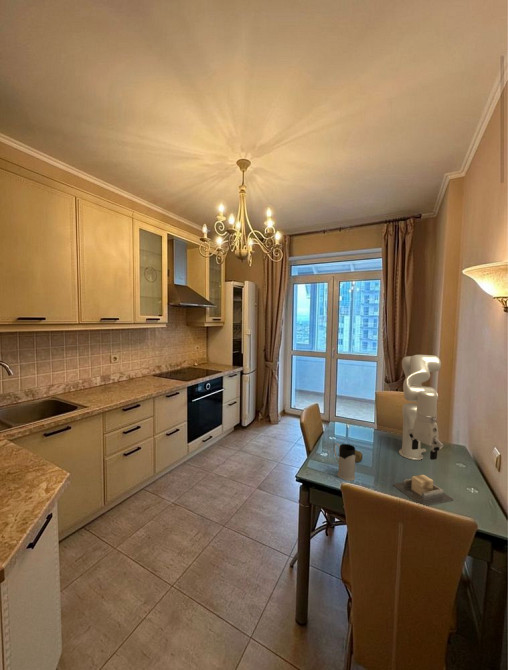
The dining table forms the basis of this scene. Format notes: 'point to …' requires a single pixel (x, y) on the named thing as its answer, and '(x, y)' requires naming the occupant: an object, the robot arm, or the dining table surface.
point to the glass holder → (346, 461)
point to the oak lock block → (421, 484)
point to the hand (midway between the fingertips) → (423, 454)
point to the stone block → (358, 456)
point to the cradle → (423, 494)
